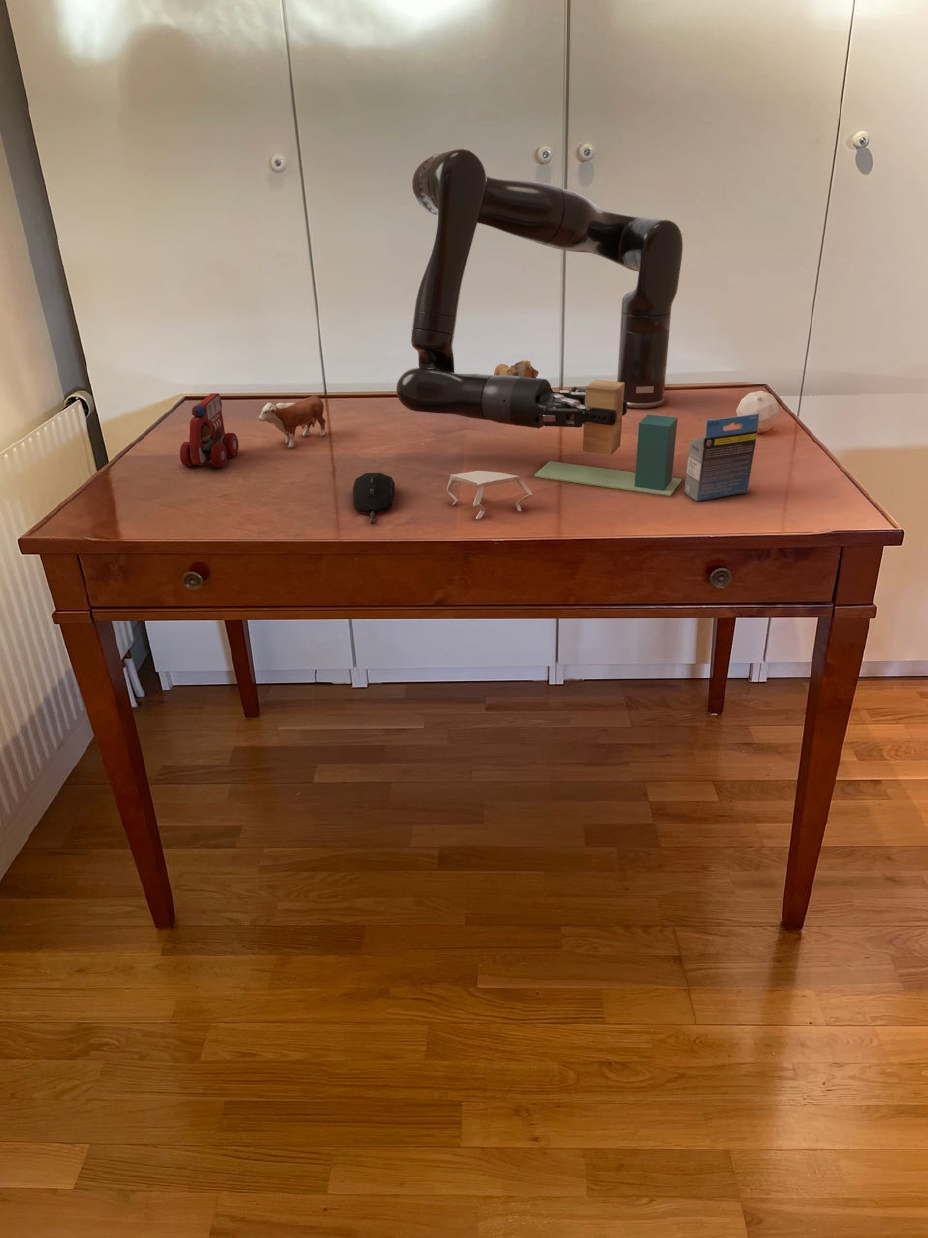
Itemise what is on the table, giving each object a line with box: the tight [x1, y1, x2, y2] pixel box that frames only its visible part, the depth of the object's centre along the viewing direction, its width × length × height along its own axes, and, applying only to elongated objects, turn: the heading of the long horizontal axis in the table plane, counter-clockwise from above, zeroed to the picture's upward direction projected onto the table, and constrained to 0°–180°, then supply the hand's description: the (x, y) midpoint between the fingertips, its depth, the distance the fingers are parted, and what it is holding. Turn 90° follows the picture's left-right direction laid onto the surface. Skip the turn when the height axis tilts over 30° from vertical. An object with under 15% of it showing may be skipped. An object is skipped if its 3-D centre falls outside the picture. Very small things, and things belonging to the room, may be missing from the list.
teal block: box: [634, 413, 679, 491], centre depth 133 cm, size 5×5×10 cm
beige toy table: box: [446, 470, 533, 520], centre depth 129 cm, size 12×8×5 cm
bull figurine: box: [258, 394, 327, 449], centre depth 157 cm, size 4×13×8 cm, turn 137°
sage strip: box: [533, 460, 683, 497], centre depth 139 cm, size 7×22×1 cm, turn 64°
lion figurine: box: [493, 359, 540, 378], centre depth 175 cm, size 15×5×9 cm, turn 33°
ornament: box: [735, 390, 781, 434], centre depth 155 cm, size 7×7×8 cm
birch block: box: [582, 379, 625, 456], centre depth 134 cm, size 5×5×10 cm
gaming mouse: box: [352, 472, 396, 525], centre depth 132 cm, size 6×15×4 cm, turn 3°
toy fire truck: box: [179, 392, 240, 468], centre depth 149 cm, size 7×12×10 cm, turn 172°
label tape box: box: [683, 414, 759, 502], centre depth 129 cm, size 9×4×12 cm, turn 108°
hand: (620, 412), depth 133 cm, fingers closed on birch block, 4 cm apart
